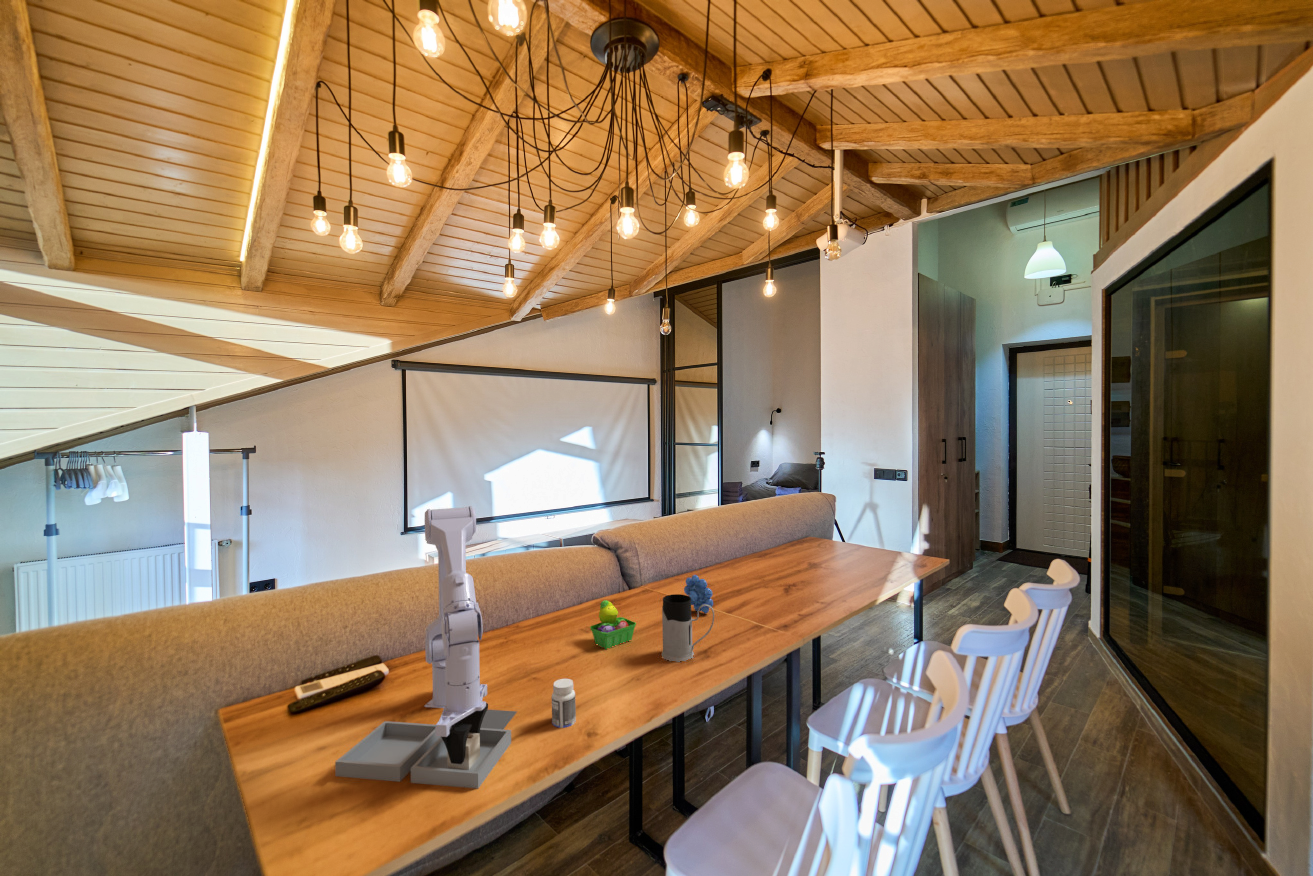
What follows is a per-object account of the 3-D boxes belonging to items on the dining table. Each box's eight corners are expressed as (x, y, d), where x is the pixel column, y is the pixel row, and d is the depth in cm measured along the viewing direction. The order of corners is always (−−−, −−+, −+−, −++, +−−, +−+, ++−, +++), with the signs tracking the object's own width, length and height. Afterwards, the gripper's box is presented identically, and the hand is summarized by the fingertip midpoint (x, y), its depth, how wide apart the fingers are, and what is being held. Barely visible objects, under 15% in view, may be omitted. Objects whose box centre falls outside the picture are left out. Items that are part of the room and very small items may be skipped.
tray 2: (451, 741, 102) (451, 725, 102) (511, 746, 100) (511, 730, 100) (410, 786, 89) (410, 768, 89) (478, 792, 87) (478, 773, 87)
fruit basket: (605, 652, 143) (604, 610, 143) (586, 643, 149) (586, 603, 149) (637, 641, 150) (637, 601, 150) (618, 632, 157) (618, 594, 157)
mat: (472, 711, 113) (472, 708, 113) (517, 714, 111) (517, 711, 111) (447, 738, 103) (447, 734, 103) (496, 741, 101) (496, 738, 101)
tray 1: (385, 736, 104) (384, 721, 104) (442, 740, 102) (441, 725, 102) (335, 779, 91) (335, 761, 91) (399, 785, 89) (399, 767, 89)
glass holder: (664, 647, 145) (663, 592, 145) (716, 651, 142) (715, 595, 142) (658, 660, 137) (657, 602, 137) (713, 665, 134) (712, 605, 134)
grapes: (676, 611, 175) (676, 575, 175) (689, 606, 180) (688, 571, 180) (704, 619, 167) (704, 581, 167) (717, 614, 172) (716, 577, 172)
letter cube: (459, 753, 96) (458, 731, 96) (479, 755, 96) (479, 732, 96) (447, 767, 93) (447, 743, 93) (469, 769, 92) (468, 745, 92)
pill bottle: (577, 717, 110) (576, 677, 110) (574, 730, 105) (573, 688, 105) (554, 718, 109) (553, 677, 109) (550, 731, 105) (549, 688, 105)
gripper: (463, 699, 86) (464, 783, 86) (501, 662, 101) (502, 733, 101) (423, 697, 87) (424, 779, 87) (467, 660, 102) (468, 730, 102)
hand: (463, 754), depth 94 cm, fingers closed on letter cube, 4 cm apart
